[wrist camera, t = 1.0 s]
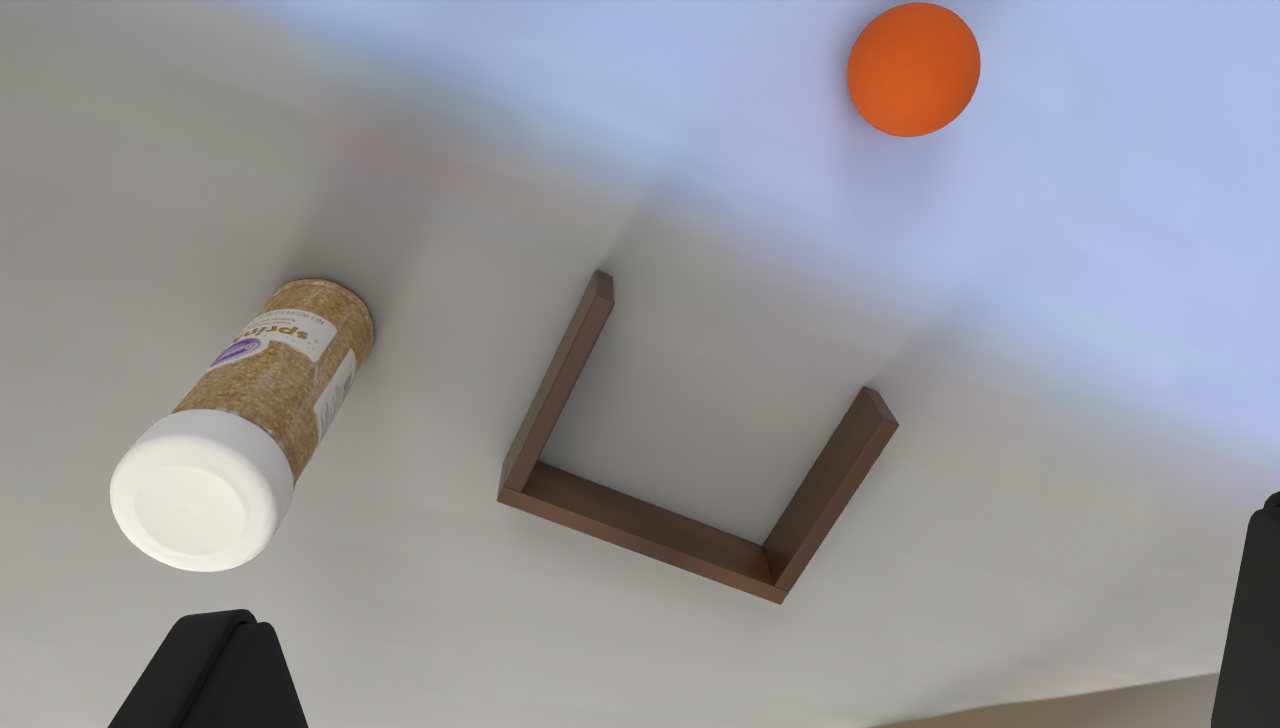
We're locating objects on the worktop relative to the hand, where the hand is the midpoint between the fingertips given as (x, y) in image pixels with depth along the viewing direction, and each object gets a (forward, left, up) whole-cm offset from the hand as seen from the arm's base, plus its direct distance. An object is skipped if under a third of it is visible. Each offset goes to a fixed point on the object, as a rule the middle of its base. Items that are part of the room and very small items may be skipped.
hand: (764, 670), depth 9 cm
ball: (+8, +6, -26) cm, 28 cm away
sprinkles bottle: (-8, -13, -29) cm, 32 cm away
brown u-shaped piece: (+8, -11, -29) cm, 31 cm away
